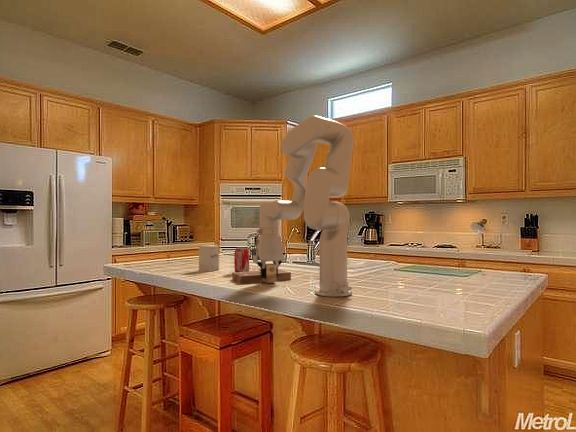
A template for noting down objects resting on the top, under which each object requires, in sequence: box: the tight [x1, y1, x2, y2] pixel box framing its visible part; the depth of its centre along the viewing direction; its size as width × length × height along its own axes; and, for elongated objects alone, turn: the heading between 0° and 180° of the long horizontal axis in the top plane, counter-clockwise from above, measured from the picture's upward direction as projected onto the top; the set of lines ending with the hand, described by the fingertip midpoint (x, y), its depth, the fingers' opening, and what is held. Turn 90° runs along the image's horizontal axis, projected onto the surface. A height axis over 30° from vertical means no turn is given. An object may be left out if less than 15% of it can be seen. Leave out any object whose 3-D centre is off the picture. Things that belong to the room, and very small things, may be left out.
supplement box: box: [198, 244, 220, 273], centre depth 187 cm, size 7×7×13 cm
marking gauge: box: [258, 262, 277, 284], centre depth 152 cm, size 14×4×7 cm, turn 26°
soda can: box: [233, 247, 250, 272], centre depth 178 cm, size 7×7×12 cm
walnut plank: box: [231, 268, 292, 285], centre depth 158 cm, size 12×22×3 cm, turn 116°
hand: (269, 277), depth 150 cm, fingers closed on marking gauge, 4 cm apart
